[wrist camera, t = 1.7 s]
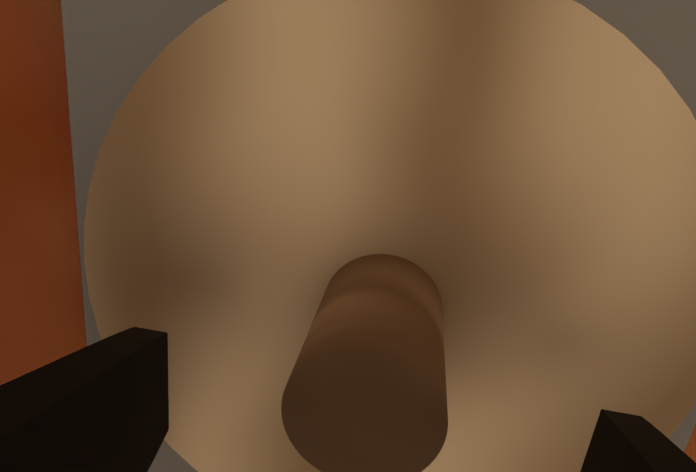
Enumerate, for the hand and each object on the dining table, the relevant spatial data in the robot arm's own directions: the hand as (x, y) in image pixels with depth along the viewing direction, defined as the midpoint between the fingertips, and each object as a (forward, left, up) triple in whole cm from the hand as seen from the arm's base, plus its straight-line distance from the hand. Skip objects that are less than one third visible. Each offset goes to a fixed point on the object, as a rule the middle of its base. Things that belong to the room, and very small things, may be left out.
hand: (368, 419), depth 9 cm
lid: (0, 0, -5) cm, 5 cm away
